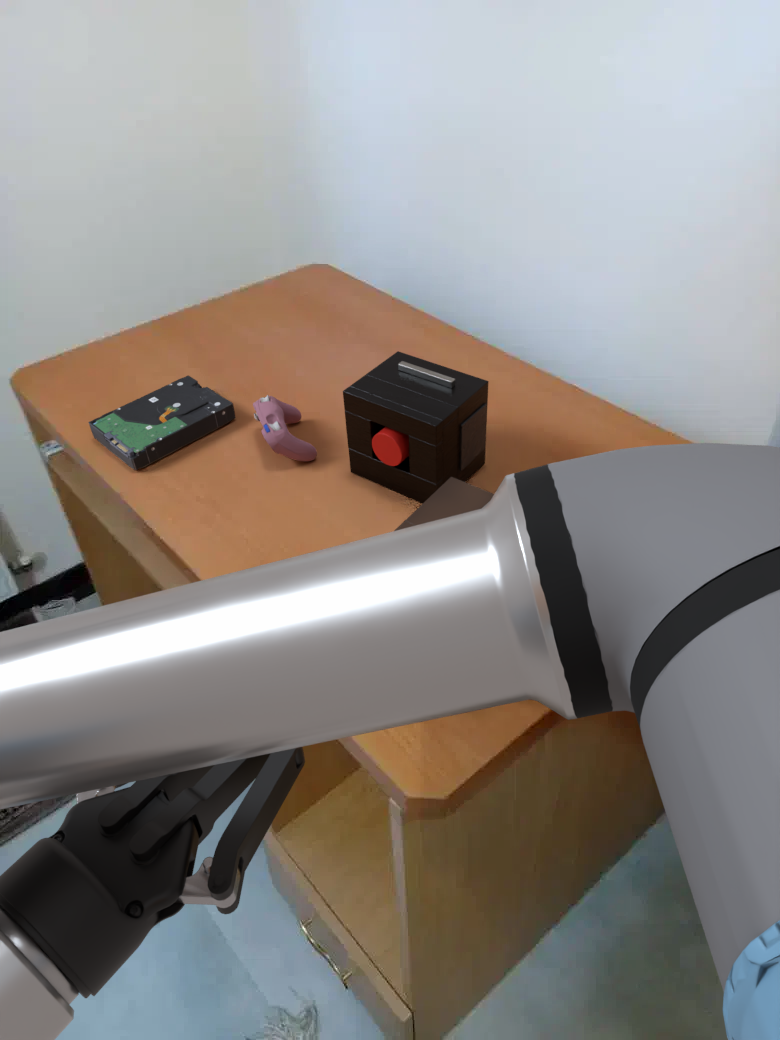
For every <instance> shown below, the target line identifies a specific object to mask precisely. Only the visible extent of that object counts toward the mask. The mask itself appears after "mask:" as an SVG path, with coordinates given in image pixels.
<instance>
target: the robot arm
mask: <svg viewBox="0 0 780 1040" xmlns="http://www.w3.org/2000/svg"><path fill="white" fill-rule="evenodd" d="M493 494H494V496H493V497H492V499H491V500H490V502H488V503H487V504H486V505H485V506H484V507H483V508H482V509H478V510H474V511H470V512H467V513H463V514H459V515H455V516H451V517H447V518H443V519H439V520H435V521H432V522H428V523H424V524H420V525H416V526H412V527H408V528H404V529H400V530H396V531H394V530H393V531H388V532H385V533H381V534H378V535H374V536H370V537H366V538H365V537H364V538H362V539H358V540H354V541H351V542H346V543H342V544H338V545H334V546H331V547H326V548H323V549H319V550H315V551H311V552H307V553H303V554H298V555H294V556H292V557H288V558H283V559H279V560H275V561H273V562H268V563H263V564H260V565H257V566H253V567H248V568H245V569H241V570H236V571H233V572H229V573H224V574H221V575H217V576H213V577H209V578H206V579H202V580H198V581H193V582H191V583H187V584H182V585H178V586H175V587H170V588H167V589H163V590H159V591H155V592H151V593H147V594H143V595H140V596H139V595H138V596H135V597H132V598H127V599H123V600H120V601H116V602H113V603H108V604H104V605H100V606H96V607H92V608H89V609H84V610H81V611H76V612H73V613H70V614H66V615H62V616H57V617H54V618H50V619H49V618H48V619H46V620H42V621H38V622H34V623H30V624H27V625H23V626H20V627H15V628H10V629H7V630H2V631H0V810H4V809H9V808H13V807H18V806H23V805H28V804H33V803H38V802H42V801H48V800H52V799H57V798H62V797H66V796H67V797H68V796H73V795H75V797H76V803H75V804H74V805H73V806H72V807H71V808H70V809H69V810H68V812H67V813H66V815H65V817H64V820H63V821H62V823H61V825H60V827H59V828H58V829H57V830H56V832H54V833H53V834H52V835H50V836H49V837H43V838H41V839H39V840H38V841H37V842H35V843H34V844H33V845H32V846H31V847H30V848H29V849H28V850H27V851H25V852H24V853H23V854H22V855H21V856H20V857H18V859H17V860H15V862H14V863H12V864H11V865H10V866H9V867H8V868H7V869H6V870H5V871H4V872H3V873H1V874H0V1040H56V1039H57V1038H58V1037H59V1036H60V1035H61V1034H62V1032H63V1031H64V1030H65V1029H66V1028H67V1027H68V1026H69V1025H70V1023H71V1022H72V1021H73V1020H74V1018H75V1017H74V1015H75V1009H74V1008H73V1007H72V1006H71V1004H72V1003H73V1001H75V999H77V997H78V996H79V995H81V996H82V997H83V998H84V999H88V998H89V997H90V996H92V997H95V996H96V995H97V994H98V993H99V992H100V991H101V990H102V988H103V987H104V986H106V984H107V983H108V982H109V981H110V980H111V979H112V978H113V976H114V975H115V974H116V973H117V972H118V971H119V970H120V969H121V967H122V966H123V965H124V964H125V963H126V962H127V961H128V960H129V959H130V957H132V955H133V954H134V953H135V952H136V951H137V950H138V949H139V948H140V946H141V945H142V944H143V942H144V940H145V939H146V937H147V936H148V934H149V933H150V932H151V930H152V929H153V928H154V927H156V925H158V924H159V923H161V922H163V921H165V920H167V919H169V918H171V917H174V916H175V915H177V914H178V913H180V911H181V910H182V909H183V908H184V907H185V905H203V906H204V905H206V906H207V905H208V906H215V907H216V909H217V911H218V912H219V913H220V914H223V915H231V914H232V913H234V912H235V911H236V910H237V909H238V907H239V906H240V905H239V904H240V901H241V896H242V890H243V884H244V880H245V874H246V870H247V869H248V867H249V865H250V863H251V861H253V858H254V857H255V854H256V853H257V851H258V850H259V847H260V845H261V844H262V842H263V840H264V839H265V836H266V834H267V833H268V831H269V829H270V828H271V826H272V824H273V822H274V820H275V819H276V816H277V815H278V813H279V812H280V809H281V808H282V807H283V804H284V803H285V800H286V799H287V797H288V795H289V793H290V792H291V790H292V788H293V786H294V784H295V783H296V780H298V777H299V776H300V774H301V772H302V770H303V768H304V767H305V764H306V758H305V753H304V747H307V746H311V745H312V746H313V745H316V744H322V743H327V742H330V741H336V740H342V739H346V738H350V737H356V736H360V735H365V734H369V733H375V732H380V731H385V730H389V729H394V728H398V727H404V726H409V725H413V724H418V723H423V722H427V721H431V720H436V719H442V718H446V717H452V716H457V715H462V714H465V713H467V714H468V713H471V712H476V711H481V710H485V709H490V708H495V707H500V706H504V705H509V704H515V703H518V702H524V701H529V700H531V701H536V702H538V703H540V704H542V705H543V706H545V707H546V708H548V709H550V710H551V711H553V712H554V713H556V714H558V715H560V716H561V717H563V718H564V719H566V720H568V721H571V720H577V719H582V718H586V717H592V716H596V715H601V714H605V713H611V712H623V711H626V712H630V713H634V715H635V717H636V721H637V724H638V727H639V730H640V734H641V738H642V739H641V740H642V743H643V746H644V749H645V752H646V756H647V759H648V762H649V764H650V768H651V771H652V774H653V777H654V780H655V783H656V786H657V790H658V793H659V796H660V799H661V802H662V805H663V808H664V811H665V814H666V817H667V821H668V824H669V827H670V830H671V833H672V837H673V839H674V842H675V846H676V849H677V852H678V854H679V859H680V861H681V864H682V867H683V870H684V873H685V876H686V879H687V880H686V881H687V882H688V886H689V890H690V892H691V895H692V898H693V901H694V904H695V908H696V911H697V914H698V917H699V921H700V923H701V926H702V929H703V932H704V935H705V939H706V942H707V946H708V949H709V951H710V954H711V957H712V960H713V964H714V967H715V970H716V973H717V977H718V978H719V983H720V984H721V988H722V992H723V997H722V1000H723V1001H722V1015H723V1021H724V1027H725V1033H726V1038H727V1040H780V447H779V446H772V445H762V444H740V443H718V442H695V443H694V442H693V443H677V444H676V443H675V444H672V443H671V444H655V445H653V444H652V445H645V446H636V447H627V448H620V449H614V450H609V451H604V452H599V453H594V454H590V455H589V454H588V455H585V456H579V457H574V458H571V459H565V460H561V461H556V462H551V463H547V464H543V465H540V466H536V467H533V468H528V469H525V470H519V471H517V472H513V473H510V474H509V473H508V474H506V475H505V476H504V478H503V479H502V481H501V482H500V484H499V486H498V488H497V489H496V491H495V492H494V493H493ZM130 783H132V785H130V786H128V787H124V788H121V787H123V786H125V785H127V784H130ZM250 785H251V786H250ZM249 786H250V788H249V789H248V791H247V792H246V793H245V796H244V798H243V799H242V801H241V803H240V804H239V806H238V807H237V809H236V811H235V812H234V814H233V816H232V818H231V819H230V821H229V822H228V824H227V826H226V827H225V829H224V831H223V833H222V834H221V837H220V838H219V840H218V842H217V844H216V847H215V849H214V853H213V856H207V857H205V858H204V859H203V860H202V863H201V864H200V866H199V868H198V869H197V871H196V872H195V873H194V869H195V864H196V860H197V859H196V858H197V854H198V848H199V845H201V843H202V842H203V841H204V840H205V839H206V838H207V837H209V835H210V834H211V832H212V831H213V830H214V826H215V824H216V822H217V820H218V819H219V818H220V817H221V816H222V815H223V814H224V813H225V812H226V811H227V810H228V809H229V807H230V806H232V804H233V803H235V801H236V800H237V799H238V798H239V797H240V796H241V795H242V794H243V792H245V791H246V789H247V788H248V787H249ZM118 788H121V789H118ZM116 789H118V790H116Z"/></svg>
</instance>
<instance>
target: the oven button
mask: <svg viewBox="0 0 780 1040" xmlns="http://www.w3.org/2000/svg"><path fill="white" fill-rule="evenodd" d="M372 447H373V450H374V453H375V454H376V456H377V457H378V458H379V459H380V460H381V461H382V462H383V463H385V464H387V465H389V466H397V465H399V464H400V463H401V462H402V461H403V460H404V459H406V458H407V457H408V456H409V435H406V434H403V433H401V432H398V431H396V430H393V429H391V428H388V427H385V428H383V429H382V430H381V431H380V432H378V433H377V434H376V435H375V436H374V437H373V439H372Z"/></svg>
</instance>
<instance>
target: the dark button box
mask: <svg viewBox="0 0 780 1040" xmlns="http://www.w3.org/2000/svg"><path fill="white" fill-rule="evenodd" d="M489 383H490V382H489V381H488V380H486V379H483V378H480V377H478V376H474V375H471V374H469V373H466V372H462V371H459V370H456V369H453V368H451V367H446V366H444V365H441V364H438V363H434V362H432V361H429V360H426V359H423V358H420V357H417V356H413V355H410V354H408V353H404V352H401V351H396V352H394V353H393V354H392V355H391V356H389V357H388V358H386V359H385V360H384V361H382V362H381V363H379V364H378V365H377V366H375V367H374V368H373V369H371V370H369V371H368V372H367V373H366V374H364V375H363V376H361V377H360V378H359V379H357V380H356V381H354V382H353V383H352V384H350V385H349V386H348V387H346V388H345V389H344V390H342V399H343V408H344V419H345V420H344V421H345V430H346V438H347V439H346V440H347V448H348V458H349V459H348V460H349V469H350V473H351V474H353V475H356V476H358V477H360V478H362V479H364V480H368V481H370V482H372V483H374V484H376V485H379V486H381V487H383V488H386V489H388V490H390V491H393V492H395V493H397V494H399V495H401V496H404V497H406V498H408V499H411V500H413V501H415V502H418V503H420V504H421V505H422V504H423V503H424V502H425V501H426V500H427V499H428V498H429V497H430V496H431V495H432V494H434V493H435V492H436V491H437V490H438V489H439V488H440V487H441V486H442V485H443V484H444V483H445V482H446V481H447V480H448V479H449V478H450V477H453V478H456V479H458V480H461V481H463V482H466V483H467V481H468V480H469V479H470V478H471V477H472V476H474V474H475V473H477V471H479V470H480V469H481V468H482V467H483V466H484V465H485V464H486V447H487V428H488V427H487V424H488V405H489V404H488V403H489V401H488V400H489ZM385 427H388V428H391V429H393V430H396V431H398V432H401V433H403V434H406V435H409V456H408V457H407V458H406V459H404V460H403V461H402V462H401V463H400V464H399V465H397V466H389V465H387V464H385V463H383V462H382V461H381V460H380V459H379V458H378V457H377V456H376V454H375V453H374V450H373V447H372V439H373V437H374V436H375V435H376V434H377V433H378V432H380V431H381V430H382V429H383V428H385Z"/></svg>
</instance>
